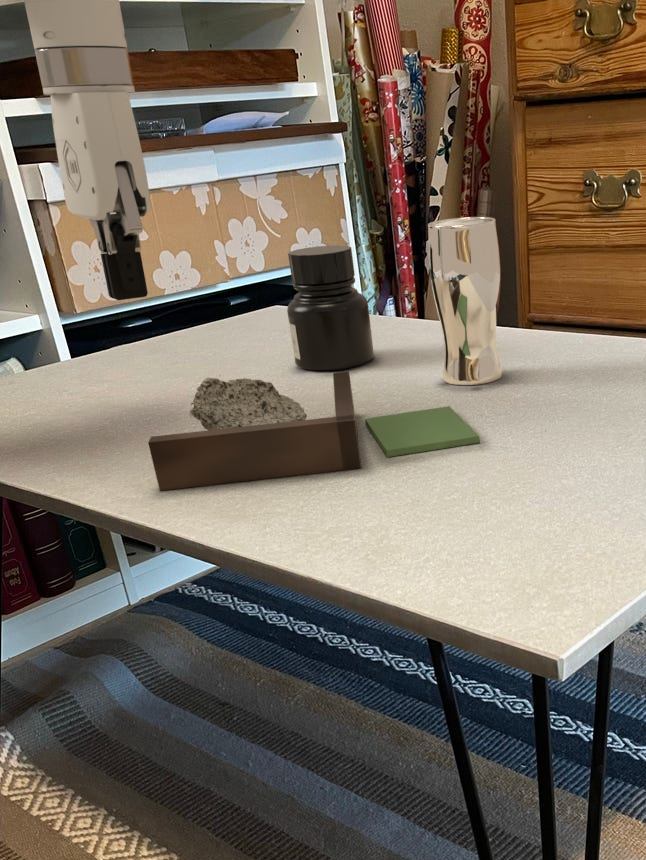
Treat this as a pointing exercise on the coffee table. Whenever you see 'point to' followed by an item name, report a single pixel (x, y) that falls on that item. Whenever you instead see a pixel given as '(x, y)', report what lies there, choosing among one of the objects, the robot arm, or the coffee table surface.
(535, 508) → the coffee table surface
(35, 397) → the coffee table surface
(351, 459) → the corner stop
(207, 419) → the rock sample
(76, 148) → the robot arm
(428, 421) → the green tile
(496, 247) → the beer glass
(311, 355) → the ink bottle
